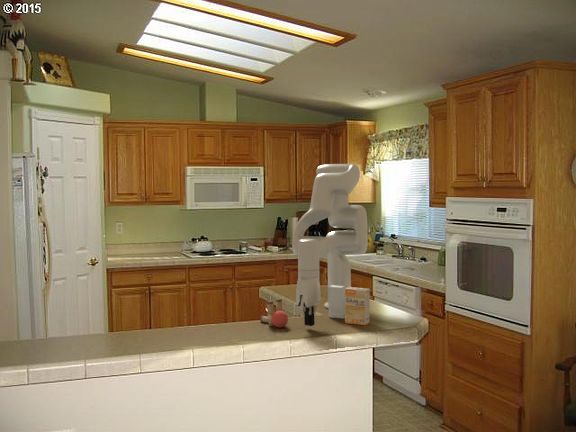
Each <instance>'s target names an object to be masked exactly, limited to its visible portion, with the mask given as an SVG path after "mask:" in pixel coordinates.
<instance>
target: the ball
mask: <svg viewBox="0 0 576 432" xmlns="http://www.w3.org/2000/svg"><path fill="white" fill-rule="evenodd" d="M288 321H289V317H288V314H287V313H286V312H285V311H283V310H282V311H274V314H273V315H272V323H273V325H274V326H273V327H276V328H280V329H281V328H284V327H286V326H287V324H288Z"/></svg>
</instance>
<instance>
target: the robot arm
mask: <svg viewBox="0 0 576 432" xmlns="http://www.w3.org/2000/svg"><path fill="white" fill-rule="evenodd" d="M360 171H361V170H360V168H359V167H358V165H357V164H355V163H327V164H326V163H325V164H322V165H319V166H317V168H316V170H315V172H316V176H315V178H314V181H313V187H312V193H311V200H310V204H309V205H310V206H309V210H308V211H306V212H305V213H304V214H303V215H302V216H301V217H300V218H299V220H298V222H297V223H296V225H295V227H294V229H293V230H294V231H293V235H292V236H293V237H292V242H291V243H292V245H291V248H292V253H293V254H294V255H295V256H297V274H298V275H297V276H298V277H297V278H298V279H297V282H296V293H295V305H296V306H297V307H300V308H299V311H300V312H302V313H303V315H304V320H303V321H304V325H305V326H307V327H308V326H309V327H313V326H315V314H316V308H317V307H319V304H320V302H321V283H320V258H325V257H327V288H328V287H329V286H331V285H337V286H346V288H348V287H352V278H351V277H352V274H351V271H352V269H351V262H350V260H349V259H348V257H347V256H346V255H364V254H365V253H367V250H368V245H369V242H368V241H369V239H368V237H369V236H368V235H369V234H368V216H367V211H366V207H364V206H363V205H360V204H349V198H348V195H350V194H351V193H352V192H353V191H354V189H355V187H356V186H357V185H358V183H359V181H360V177H361V173H360ZM326 219H328V220H327V221H328V225H329V226H330V227H332V228H336V229H353V231H351V230H350V231H349V230H333V231H331V232H330V231H329V232H328V233H327V234H326V236H313V235H312V236H309V235H305V232H306V230H308V228H309V227H311V226H312V225H314V224H316V223H318V222H321V221H323V220H326ZM323 305H324V306H323V307H325V308H326V309H329V308H328V301H326V302H325V303H324V304H323Z"/></svg>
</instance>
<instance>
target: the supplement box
mask: <svg viewBox="0 0 576 432" xmlns="http://www.w3.org/2000/svg"><path fill="white" fill-rule="evenodd" d="M370 290H371V289H370V288H364V287H354V286H353V287H352V286H351V287H348V288H346V289H345V318H344V324H350V325H359V326H367V325H369V324H370V313H371V311H370V304H371V303H370V302H371V301H370V300H371V297H370V296H371V295H370V293H371V292H370Z"/></svg>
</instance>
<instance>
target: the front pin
mask: <svg viewBox="0 0 576 432" xmlns="http://www.w3.org/2000/svg"><path fill="white" fill-rule="evenodd" d="M259 321H260V323H268V324H269V322H268V316H265V315H260V318H259Z"/></svg>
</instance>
